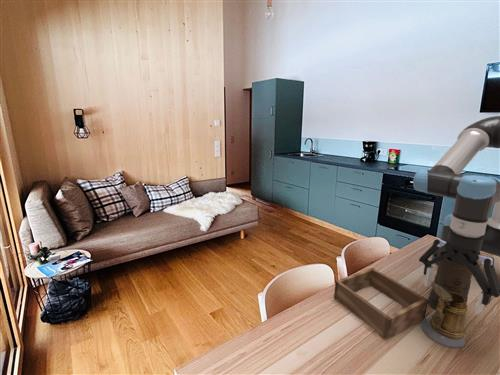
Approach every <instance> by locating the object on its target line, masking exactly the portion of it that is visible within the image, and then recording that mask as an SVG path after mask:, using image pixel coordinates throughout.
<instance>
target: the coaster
mask: <svg viewBox="0 0 500 375" xmlns="http://www.w3.org/2000/svg"><path fill="white" fill-rule="evenodd" d="M430 319H431V317H428V318H424V319H422V322H421V329H422V332H423V333H424V334H425V335H426V337H427V338H428V339H430V340H432V341H433V342H435V343H437V344H438V345H440V346H443V347H446V348H451V349H460V348H462V347H464V346H465V344H466V337H465V335H464V336H463V338H461V339H452V338H449V337H446V336H444V335H442V334H440V333H439V332H438V331H436V330H435V329H434V328H433V327H432V326H431V324H430Z"/></svg>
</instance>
